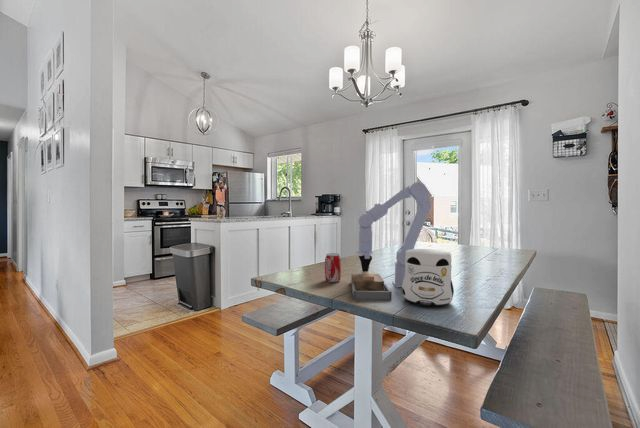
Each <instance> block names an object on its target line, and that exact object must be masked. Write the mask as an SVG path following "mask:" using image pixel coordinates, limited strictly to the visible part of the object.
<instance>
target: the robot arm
mask: <svg viewBox="0 0 640 428" xmlns="http://www.w3.org/2000/svg"><path fill="white" fill-rule="evenodd" d="M411 197H412V198H413V199H414V200H415V203H416V204H417V206H418V208H417V210H416V212H415V215H414V217H413V219H412V222H411V224H410V226H409V229H408V232H407V234H406V235H405V238H404V241H403V243H402V245H401V247H400V248H398V249H397V251H396V262H395V263H394V281H392V284H393V285H394V286H395V288H402V284H403V280H404V277H405V254H406V251H407V250H411V249H415V245H416V243H417V242H418V238H419V236H420V233H421V232H422V229H423V227H424V225H425V223H426V220H427V217H428V216H429V213H430V210H431V208H432V202H431V197H430V192H429V190H428V188H427V186H426V185H425V184H424V183H423V182H420V181H417V182H413V183H412V184H411V185H408V186H407V187H404V188H402V189H401V190H399V191H398V192H397V193H395V194H394V195H393V196H392V197H390V198H389V199H388V200H387V201H385V202H384V203H383V202H378V203H375V204H373V205H374V206H373V207H371V208H370V209H368V210H366V211H365V213H363V214H361V215H360V216H359V218H358V223H359V229H358V231H359V232H358V251H357V250H356V251H355V253H356V254H359V255H358V259H359V261H360V265H361V271H367V272H369V268H370V265H371V262H372V260H373V256H372V255H373V227H372V225H373V223H376V222H378V221H379V220H380V219H382V218H383V217H384V216H386V215H387V214H388V211H389V209H391V208H393V207H394V206H395V205H396V204H398V203H400V202H402V200H404V199H408V198H411Z"/></svg>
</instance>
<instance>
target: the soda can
mask: <svg viewBox="0 0 640 428" xmlns="http://www.w3.org/2000/svg"><path fill="white" fill-rule="evenodd" d="M341 263H342V261H341V256H340V253H337V252H336V253H333V252H332V253H331V252H330V253H326V256H325V258H324V279H325V281H327V282H328V283H338V282H340V281H341V278H342V277H341V276H342V264H341Z"/></svg>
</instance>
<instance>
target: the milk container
mask: <svg viewBox="0 0 640 428" xmlns="http://www.w3.org/2000/svg"><path fill="white" fill-rule="evenodd" d="M401 289H402V290H401V291H402V292H401V293H402V296H403V297H404V299H405V300H406V301H408V302H409V303H412V304H415V305H418V306H423V307H436V308H437V307H444V306H448V305H449V304H451V303H452V301H453V298H454V285H453V281H452V253H451V252H449V251H446V250H440V249H430V248H428V249H426V248H414V249H411V250H407V251H406V254H405V277H404V280H403V284H402V287H401Z"/></svg>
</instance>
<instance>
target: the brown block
mask: <svg viewBox="0 0 640 428" xmlns="http://www.w3.org/2000/svg"><path fill="white" fill-rule="evenodd" d="M372 274H373V276H374V280H362V277H361V275H360V273H351V277H350V278H351V281H350V283H351V285H352V284H354V286H355V289H356V291H384V284H385V280H384V279H383V278H382V277H381V274H379V273H372Z"/></svg>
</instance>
